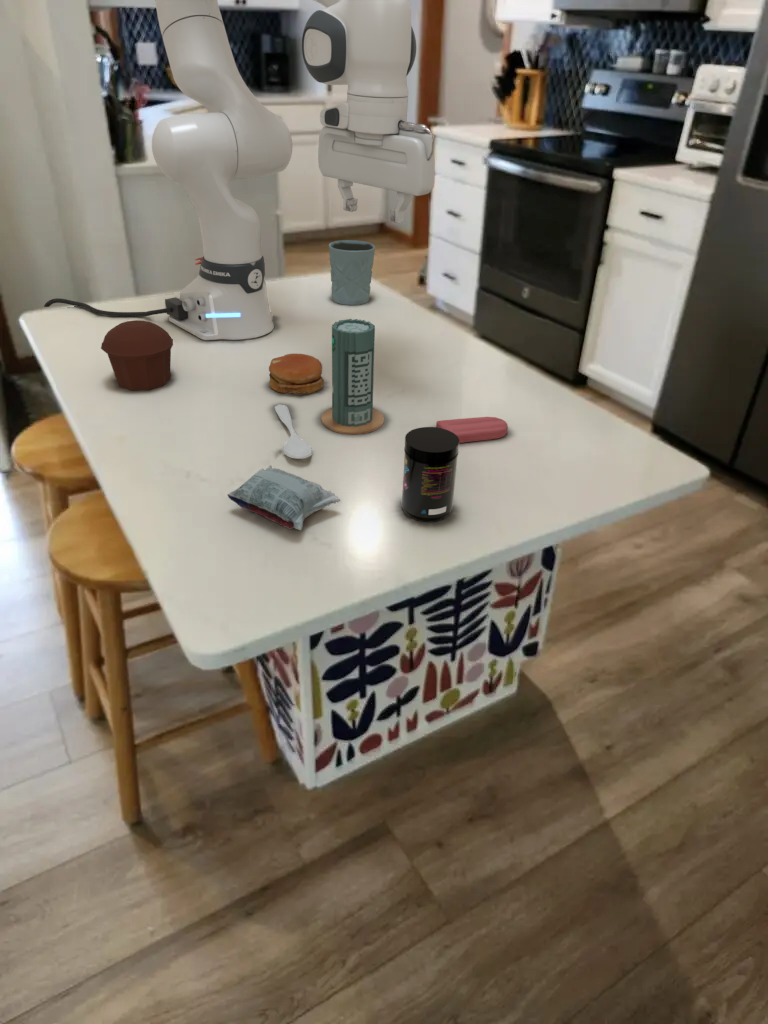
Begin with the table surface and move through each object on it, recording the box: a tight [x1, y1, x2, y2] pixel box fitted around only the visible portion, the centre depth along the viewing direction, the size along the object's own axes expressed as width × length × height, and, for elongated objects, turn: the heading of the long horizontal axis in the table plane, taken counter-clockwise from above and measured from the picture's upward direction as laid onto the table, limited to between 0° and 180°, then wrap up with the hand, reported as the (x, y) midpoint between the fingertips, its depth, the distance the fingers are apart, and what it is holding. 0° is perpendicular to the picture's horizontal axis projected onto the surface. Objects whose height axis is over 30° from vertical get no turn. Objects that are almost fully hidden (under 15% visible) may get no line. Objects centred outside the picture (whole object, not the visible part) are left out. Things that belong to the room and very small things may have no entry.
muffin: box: [100, 319, 174, 391], centre depth 126 cm, size 12×11×10 cm
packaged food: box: [227, 464, 341, 532], centre depth 94 cm, size 9×12×5 cm
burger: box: [268, 353, 324, 395], centre depth 128 cm, size 10×9×5 cm
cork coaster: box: [320, 407, 385, 435], centre depth 118 cm, size 10×10×1 cm
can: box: [331, 318, 376, 427], centre depth 114 cm, size 6×6×15 cm
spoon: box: [274, 404, 313, 460], centre depth 113 cm, size 4×21×2 cm, turn 15°
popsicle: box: [435, 416, 509, 444], centre depth 115 cm, size 5×2×15 cm
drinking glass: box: [328, 239, 376, 306], centre depth 167 cm, size 10×10×12 cm
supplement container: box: [401, 426, 460, 523], centre depth 94 cm, size 7×7×10 cm
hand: (373, 216), depth 117 cm, fingers open, 8 cm apart
